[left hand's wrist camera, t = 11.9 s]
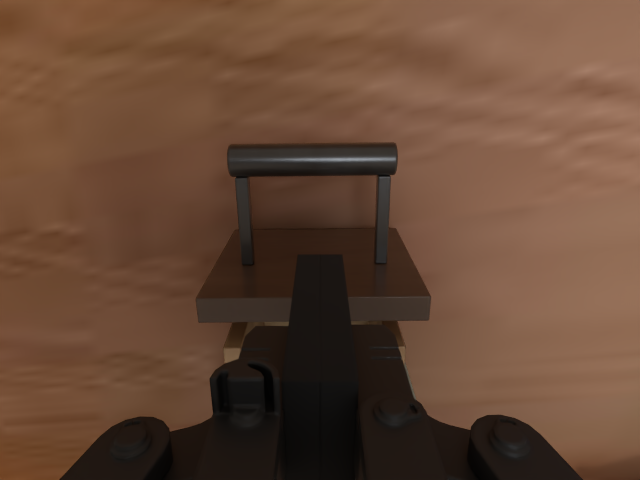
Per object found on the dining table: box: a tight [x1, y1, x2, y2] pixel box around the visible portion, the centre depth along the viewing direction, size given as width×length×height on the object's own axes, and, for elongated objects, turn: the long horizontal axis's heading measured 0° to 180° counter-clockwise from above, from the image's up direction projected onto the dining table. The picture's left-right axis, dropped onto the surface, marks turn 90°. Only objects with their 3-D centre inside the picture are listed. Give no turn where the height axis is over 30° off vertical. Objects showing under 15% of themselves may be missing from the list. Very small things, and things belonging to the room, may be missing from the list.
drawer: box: [196, 142, 431, 364], centre depth 25 cm, size 23×10×9 cm, turn 1°
